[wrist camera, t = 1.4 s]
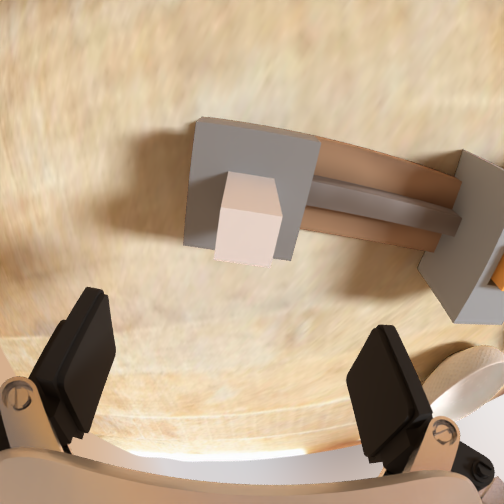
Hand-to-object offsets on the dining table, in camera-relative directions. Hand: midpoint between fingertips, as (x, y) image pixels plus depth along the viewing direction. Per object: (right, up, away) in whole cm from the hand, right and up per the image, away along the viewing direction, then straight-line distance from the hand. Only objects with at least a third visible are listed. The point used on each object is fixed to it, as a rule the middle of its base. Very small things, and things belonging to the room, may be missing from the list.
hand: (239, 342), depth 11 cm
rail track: (+8, +9, +17) cm, 21 cm away
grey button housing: (+24, +7, +18) cm, 31 cm away
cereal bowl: (+33, -16, +32) cm, 49 cm away
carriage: (0, +9, +14) cm, 17 cm away
